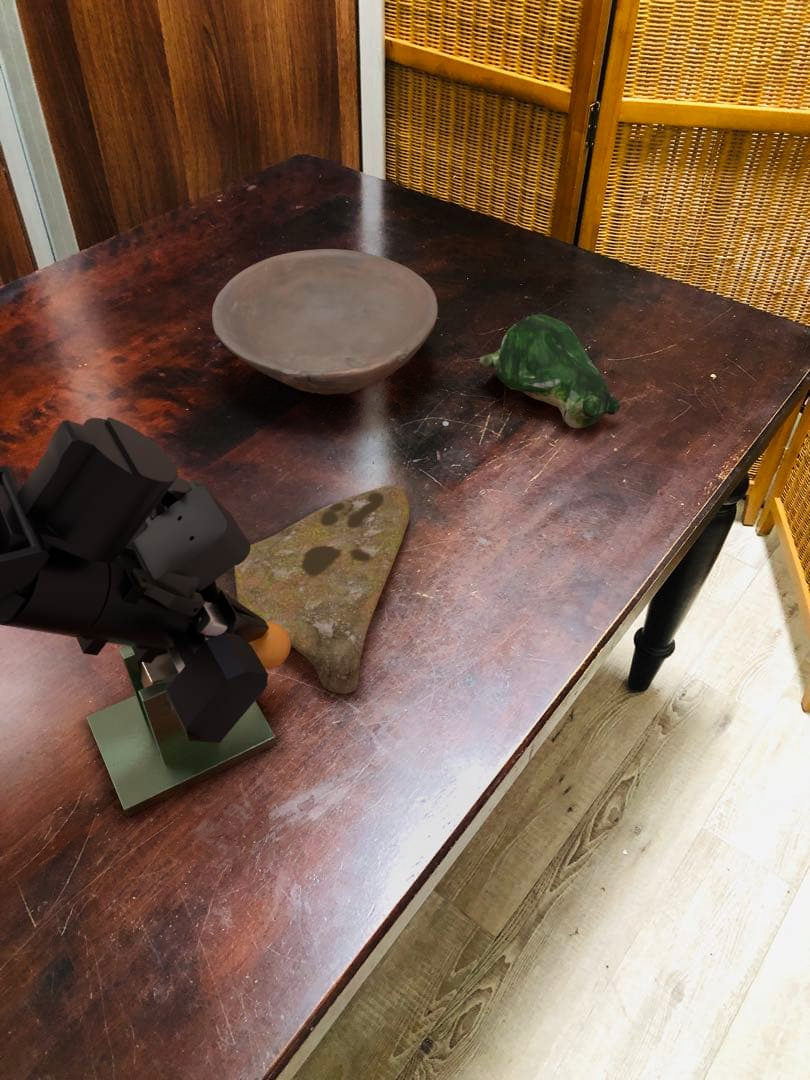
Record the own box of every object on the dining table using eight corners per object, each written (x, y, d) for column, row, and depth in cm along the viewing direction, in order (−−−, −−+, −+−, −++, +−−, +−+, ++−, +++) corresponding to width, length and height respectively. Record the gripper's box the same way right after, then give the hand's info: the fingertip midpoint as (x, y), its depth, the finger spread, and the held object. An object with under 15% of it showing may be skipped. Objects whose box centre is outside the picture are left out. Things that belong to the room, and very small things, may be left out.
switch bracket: (230, 662, 74) (215, 586, 67) (276, 744, 69) (266, 672, 62) (89, 724, 69) (57, 650, 62) (127, 817, 64) (96, 749, 57)
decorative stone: (360, 702, 71) (352, 659, 68) (189, 678, 75) (174, 636, 72) (431, 518, 89) (427, 478, 86) (292, 506, 93) (283, 467, 90)
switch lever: (276, 637, 70) (280, 606, 68) (296, 670, 68) (301, 639, 66) (137, 679, 65) (137, 647, 62) (154, 716, 63) (155, 684, 60)
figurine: (459, 369, 98) (548, 447, 91) (492, 297, 94) (588, 374, 86) (536, 369, 107) (623, 440, 100) (570, 304, 103) (663, 374, 95)
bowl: (398, 296, 114) (399, 234, 107) (465, 413, 98) (471, 348, 91) (204, 324, 108) (194, 261, 102) (242, 454, 92) (233, 388, 86)
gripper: (216, 597, 46) (394, 639, 58) (104, 404, 57) (273, 473, 69) (102, 742, 49) (294, 753, 61) (16, 531, 60) (193, 576, 72)
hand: (264, 629), depth 66 cm, fingers closed
